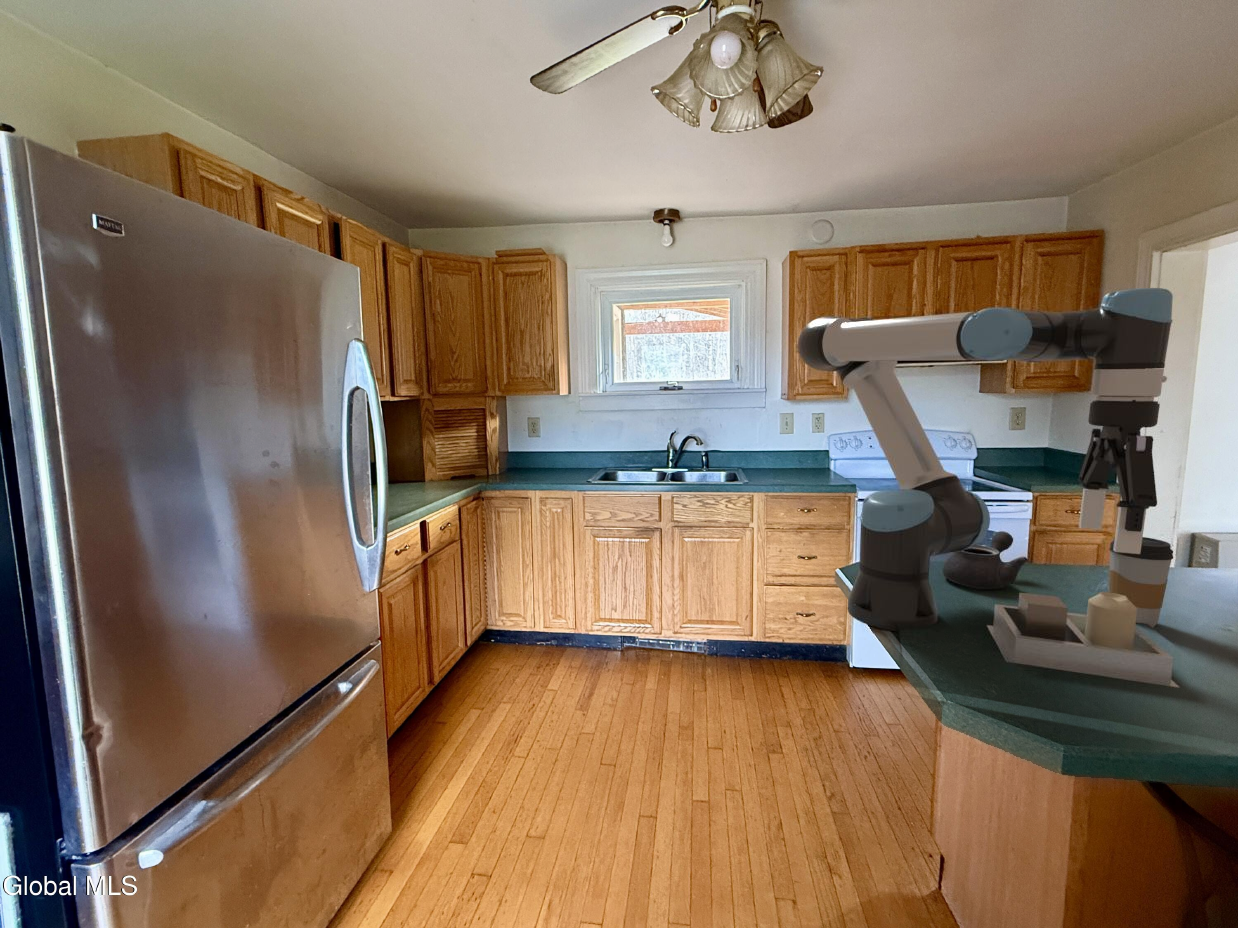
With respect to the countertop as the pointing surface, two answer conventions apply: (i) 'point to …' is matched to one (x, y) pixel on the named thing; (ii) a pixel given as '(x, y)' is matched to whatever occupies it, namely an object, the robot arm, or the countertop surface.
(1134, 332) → the robot arm
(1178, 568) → the countertop surface
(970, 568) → the teapot
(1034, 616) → the block
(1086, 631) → the candle
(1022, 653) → the divided tray
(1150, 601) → the coffee cup
